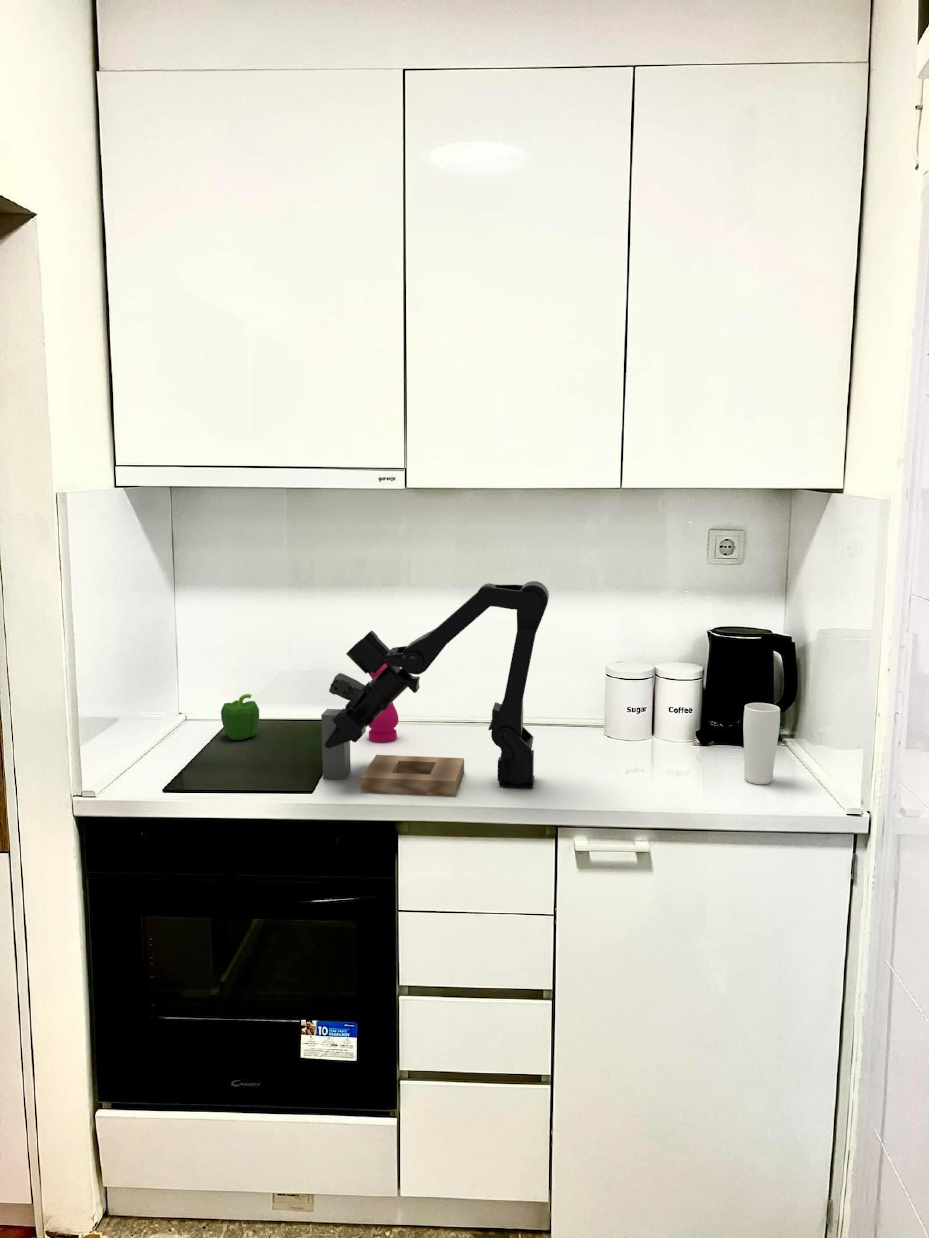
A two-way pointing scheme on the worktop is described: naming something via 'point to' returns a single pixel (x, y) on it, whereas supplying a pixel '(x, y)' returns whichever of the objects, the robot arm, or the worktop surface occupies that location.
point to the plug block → (334, 750)
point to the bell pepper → (240, 718)
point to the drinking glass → (760, 741)
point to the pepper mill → (384, 720)
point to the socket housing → (413, 775)
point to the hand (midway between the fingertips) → (329, 743)
